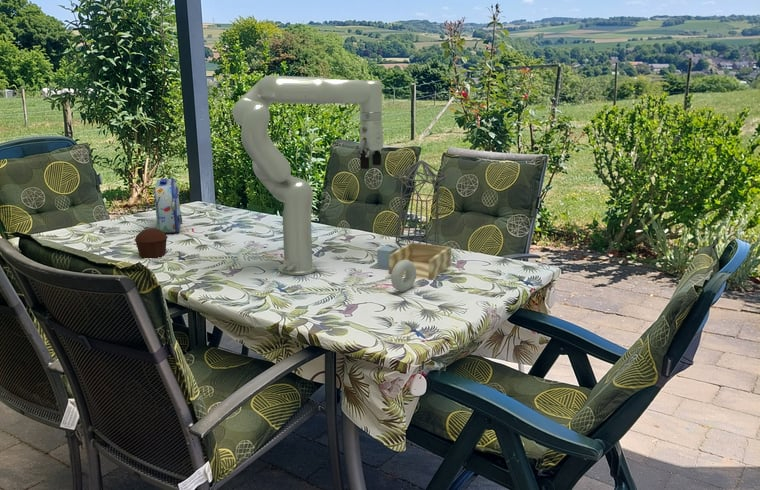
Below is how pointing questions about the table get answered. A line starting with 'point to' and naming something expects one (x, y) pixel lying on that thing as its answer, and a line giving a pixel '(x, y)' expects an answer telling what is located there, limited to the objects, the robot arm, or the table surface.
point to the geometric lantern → (430, 173)
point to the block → (384, 256)
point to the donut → (398, 272)
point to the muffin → (151, 243)
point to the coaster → (379, 267)
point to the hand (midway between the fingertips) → (370, 166)
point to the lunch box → (167, 206)
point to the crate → (423, 259)
